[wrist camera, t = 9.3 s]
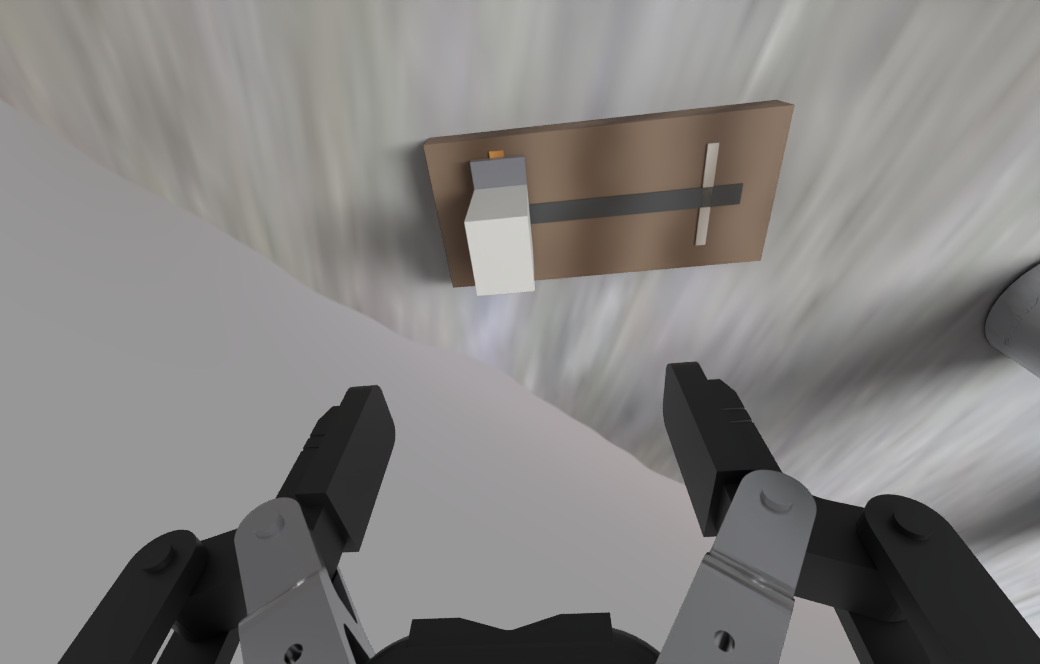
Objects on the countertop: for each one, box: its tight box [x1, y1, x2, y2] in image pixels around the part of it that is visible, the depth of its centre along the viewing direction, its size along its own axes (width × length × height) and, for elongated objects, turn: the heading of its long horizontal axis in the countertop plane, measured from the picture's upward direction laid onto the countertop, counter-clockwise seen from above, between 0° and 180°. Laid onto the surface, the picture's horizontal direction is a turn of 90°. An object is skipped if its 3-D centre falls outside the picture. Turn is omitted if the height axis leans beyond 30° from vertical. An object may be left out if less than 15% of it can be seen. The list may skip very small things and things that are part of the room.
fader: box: [464, 155, 535, 296], centre depth 24 cm, size 3×7×6 cm, turn 6°
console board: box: [423, 100, 794, 288], centre depth 27 cm, size 20×9×2 cm, turn 96°
